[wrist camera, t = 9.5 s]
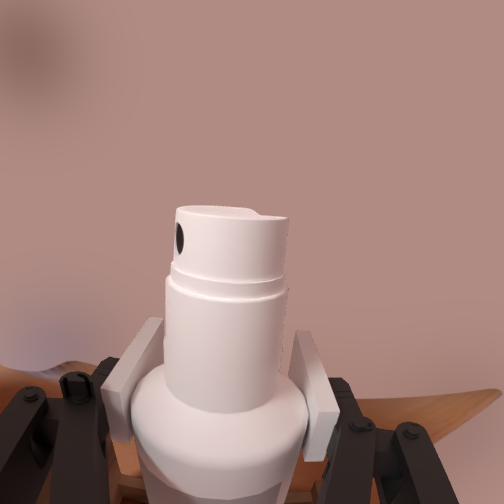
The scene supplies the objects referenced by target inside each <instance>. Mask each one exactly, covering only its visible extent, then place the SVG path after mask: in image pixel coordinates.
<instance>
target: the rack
mask: <svg viewBox="0 0 504 504" xmlns="http://www.w3.org/2000/svg"><path fill="white" fill-rule="evenodd" d="M105 439H106V442H107V452H108V477H109V492H110V504H120V503H121V500H122V498H126V499H130V500H134V501H138V502H143V503H148V504H149V500H148V496H147V492H146V488H145V484H144V480H143V479H141V478H137V477H132V476H128V475H124V474H121V472H120V469H119V465H118V462H117V458H116V455H115V451H114V447H113V443H112V440H111V436H110V432H108V434H107V436H106V438H105ZM52 466H53V464H52ZM52 466H51V469H50V471H49V473H48V475H47V478H46V480H45V482H44V485H43V487H42V490H41V492H40V494H39V497H38V499H37V502H36V504H49V498H50V485H51V475H52ZM321 484H322V481H315V482H314V485H313V487H312V490H311V491H306V492H288V493H287V496H286V499H285V502H284V504H316V502H317V498H318V495H319V491H320V488H321Z"/></svg>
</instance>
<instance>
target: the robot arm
mask: <svg viewBox="0 0 504 504" xmlns="http://www.w3.org/2000/svg"><path fill="white" fill-rule="evenodd" d="M163 339H164V319H163V318H156V317H149V319H148V320H147V321H146V323H145V324H144V326H143V327H142V328H141V330H140V331H139V333H138V334H137V335H136V337H135V338H134V340H133V341H132V343H131V344H130V346H129V347H128V348H127V350H126V351H125V353H124V354H123V356H122V357H121V358H120V359H119V358H113V357H108V358H107V359H105V360H104V361H101V363H100V364H99V365H98V367H97V369H95V371H94V372H93V374H91V376H90V375H89V374H86V373H84V372H78V371H77V372H70V373H67V374H65V375H63V376H62V377H61V378H60V380H59V382H60V386H61V390H62V394H63V398H46V394H45V392H44V391H43V390H42V389H41V388H39V387H34V386H30V387H25V388H23V389H21V390H20V391H18V392H17V394H16V395H15V396H14V398H13V399H12V400H11V402H10V403H9V404H8V406H7V407H6V408H5V410H4V411H3V412H2V414H1V415H0V504H36V502H37V499H38V497H39V494H40V492H41V490H42V487H43V485H44V482H45V480H46V478H47V475H48V473H49V471H50V469H51V466H52V464H53V466H52V475H51V485H50V498H49V504H110V492H109V477H108V452H107V442H106V439H105V438H106V436H107V434H108V432H110V436H111V440H113V441H117V442H121V443H126V444H129V443H130V441H131V439H132V436H133V434H134V432H133V426H132V420H131V405H130V402H131V397H132V394H133V392H134V390H135V388H136V386H137V384H138V382H139V381H140V380H141V379H142V378H143V377H145V376H146V375H147V374H148V373H149V372H150V371H151V370H153V369H154V368H155V367H157V366H160V365H162V364H164V343H163ZM288 375H289V378H290V379H291V380H292V381H293V383H294V384H295V385H296V386H297V387H298V389H299V390H300V391H301V392H302V394H303V395H304V397H305V401H306V404H307V408H308V411H309V419H308V423H307V428H306V432H305V436H304V439H303V443H302V451H303V457H304V462H311V461H323V460H324V458H325V455H326V452H327V456H328V459H329V460H328V463H327V466H326V468H325V471H324V473H323V476H322V478H323V480H322V484H321V488H320V491H319V495H318V498H317V502H316V504H370V496H371V487H372V478H373V477H374V478H375V482H376V486H377V491H378V495H379V500H380V504H459V502H458V500H457V498H456V495H455V493H454V491H453V488H452V486H451V484H450V481H449V479H448V477H447V475H446V472H445V470H444V468H443V465H442V463H441V461H440V459H439V457H438V454H437V452H436V450H435V448H434V446H433V444H432V442H431V439H430V437H429V435H428V433H427V431H426V430H425V429H424V427H422V426H421V425H419V424H417V423H414V422H404V423H401V424H399V425H398V426H397V428H396V430H395V431H392V430H384V429H379V428H376V427H375V424H374V423H373V422H372V420H370V419H368V418H367V417H363V415H362V413H361V411H360V408H359V406H358V404H357V402H356V399H355V398H354V395H353V393H352V391H351V388H350V386H349V384H348V383H347V382H346V381H345V380H343V379H342V378H327V375H326V372H325V369H324V367H323V364H322V362H321V359H320V356H319V354H318V351H317V348H316V346H315V343H314V341H313V338H312V335H311V333H310V331H297V330H296V331H295V337H294V344H293V349H292V356H291V361H290V367H289V374H288Z"/></svg>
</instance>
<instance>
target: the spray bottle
mask: <svg viewBox="0 0 504 504" xmlns="http://www.w3.org/2000/svg"><path fill="white" fill-rule="evenodd" d="M288 225H289V219H288V218H286V217H276V216H262V215H259V214H258V213H257V212H255V211H254V210H252V209H248V208H239V207H225V206H182V207H179V208H177V209H176V220H175V239H174V260H173V261H172V262H171V273H170V274H169V275H168V277H167V278H166V335H165V337H164V339H163V343H164V364H162V365H160V366H157V367H155V368H154V369H153V370H151V371H150V372H149V373H148V374H147V375H146V376H145V377H143V378H142V379H141V380H140V381H139V382H138V384H137V386H136V388H135V390H134V392H133V394H132V397H131V402H130V405H131V420H132V426H133V432H134V438H135V443H136V448H137V453H138V458H139V463H140V467H141V472H142V476H143V480H144V484H145V488H146V492H147V496H148V500H149V504H284V502H285V499H286V496H287V493H288V490H289V486H290V483H291V480H292V477H293V474H294V470H295V467H296V464H297V460H298V457H299V453H300V450H301V446H302V443H303V439H304V436H305V432H306V428H307V423H308V419H309V411H308V408H307V404H306V401H305V397H304V395H303V394H302V392H301V391H300V390H299V389H298V387H297V386H296V385H295V384H294V383H293V381H292V380H291V379H290V378H288V377H287V376H285V375H283V374H282V373H281V372H279V371H280V364H281V358H282V352H283V348H282V344H281V341H282V334H283V326H284V320H285V312H286V305H287V297H288V286H287V284H286V283H285V275H286V272H285V270H284V261H285V251H286V244H287V235H288Z"/></svg>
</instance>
